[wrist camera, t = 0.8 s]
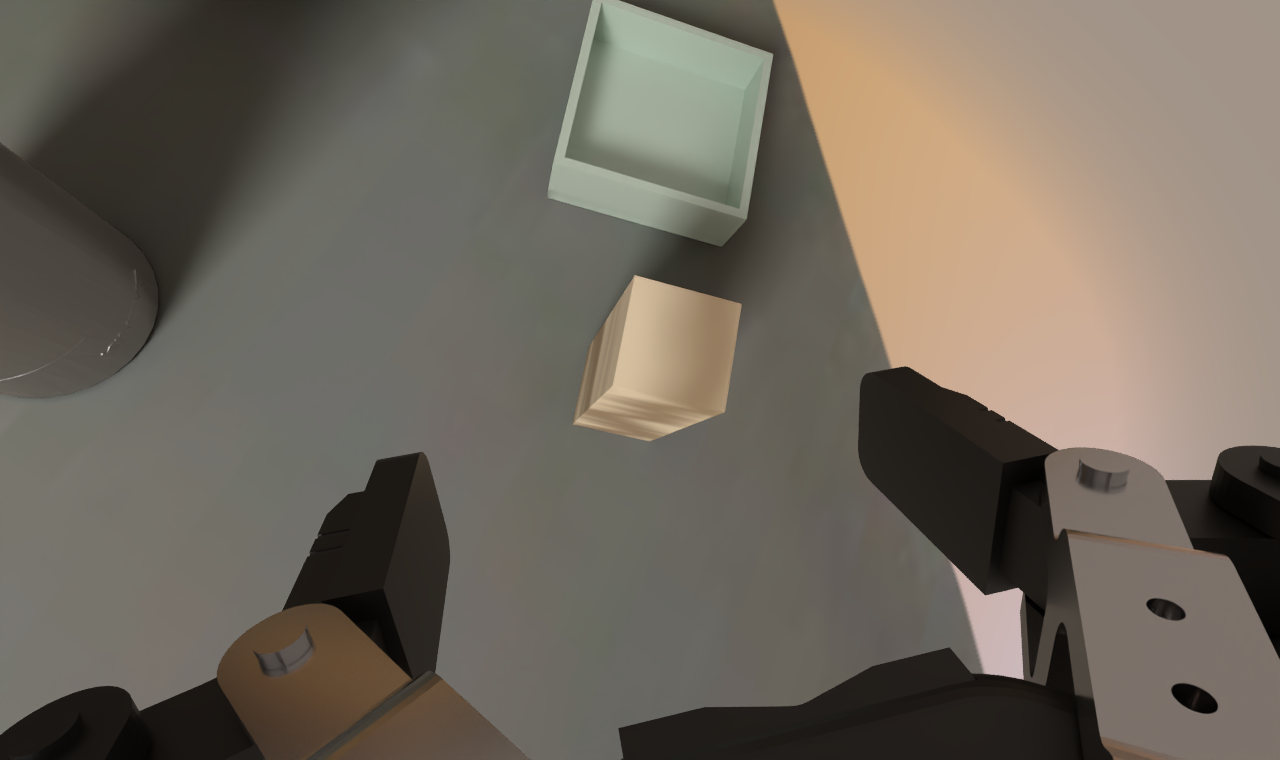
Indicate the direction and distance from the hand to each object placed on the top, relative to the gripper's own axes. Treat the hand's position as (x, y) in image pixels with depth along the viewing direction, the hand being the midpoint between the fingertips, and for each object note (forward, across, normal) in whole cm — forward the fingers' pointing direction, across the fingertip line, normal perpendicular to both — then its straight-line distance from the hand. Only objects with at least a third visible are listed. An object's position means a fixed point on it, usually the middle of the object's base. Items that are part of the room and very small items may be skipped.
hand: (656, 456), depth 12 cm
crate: (+32, -7, -4) cm, 32 cm away
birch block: (+23, -2, +9) cm, 25 cm away
